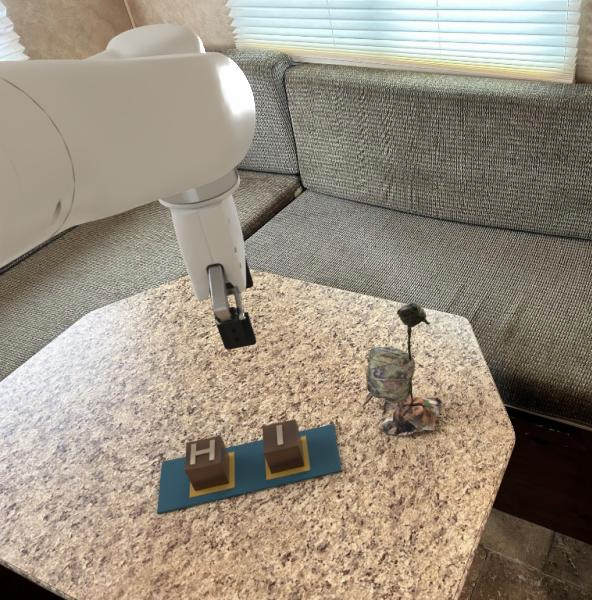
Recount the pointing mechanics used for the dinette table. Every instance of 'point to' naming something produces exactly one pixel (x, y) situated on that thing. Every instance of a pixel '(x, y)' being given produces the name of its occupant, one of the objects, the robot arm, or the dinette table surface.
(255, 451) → the word mat
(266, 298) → the dinette table surface
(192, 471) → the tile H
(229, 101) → the robot arm
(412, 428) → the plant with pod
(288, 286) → the dinette table surface
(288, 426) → the tile
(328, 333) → the dinette table surface
